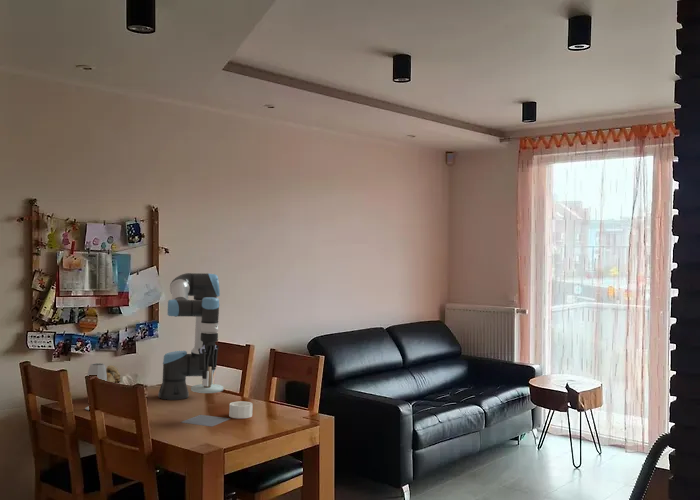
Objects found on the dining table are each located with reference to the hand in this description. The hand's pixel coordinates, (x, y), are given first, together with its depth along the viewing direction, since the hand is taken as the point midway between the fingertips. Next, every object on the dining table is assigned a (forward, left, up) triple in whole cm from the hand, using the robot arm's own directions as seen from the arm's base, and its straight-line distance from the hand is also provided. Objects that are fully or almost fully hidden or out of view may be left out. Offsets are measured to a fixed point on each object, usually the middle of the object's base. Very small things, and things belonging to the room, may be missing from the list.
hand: (207, 385), depth 292 cm
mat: (0, 0, -16) cm, 16 cm away
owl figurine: (-16, -67, -16) cm, 71 cm away
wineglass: (+4, -57, -16) cm, 59 cm away
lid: (0, 0, -2) cm, 2 cm away
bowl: (-15, +9, -16) cm, 24 cm away
